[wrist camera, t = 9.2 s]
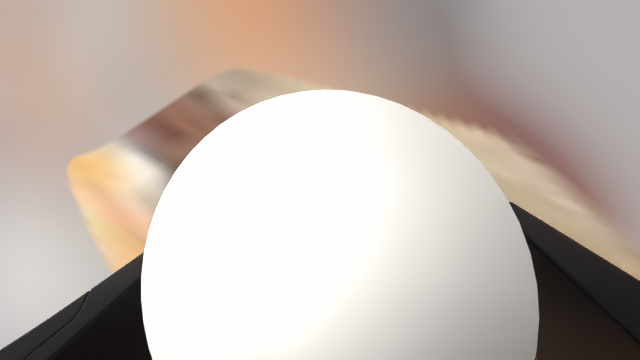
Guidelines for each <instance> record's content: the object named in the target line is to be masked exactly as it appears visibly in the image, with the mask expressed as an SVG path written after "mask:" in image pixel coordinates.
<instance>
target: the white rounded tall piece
mask: <svg viewBox="0 0 640 360" xmlns="http://www.w3.org/2000/svg"><path fill="white" fill-rule="evenodd" d="M141 302H142V312H143V322H144V327H145V332H146V337H147V342H148V347H149V350H150V353H151V356H152V360H535V356H536V351H537V340H538V328H539V306H538V291H537V282H536V277H535V273H534V268H533V263H532V258H531V254H530V251H529V248H528V245H527V242H526V240H525V237H524V234H523V231H522V228H521V226H520V223H519V221H518V219H517V217H516V215H515V213H514V211H513V209H512V207H511V206H510V204H509V202H508V200H507V198H506V196H505V194H504V193H503V191H502V190H501V189H500V187H499V186H498V184H497V183H496V181H495V180H494V179H493V177H492V176H491V174H490V173H489V171H488V170H487V169H486V168H485V167H484V166H483V165H482V163H481V162H480V161H479V160H478V159H477V158H476V157H475V156H474V155H473V154H472V153H471V151H470V150H469V149H468V148H467V147H465V146H464V145H463V144H462V143H461V142H460V141H458V140H457V139H456V138H455V137H454V136H452V135H451V134H450V133H449V132H448V131H446V130H445V129H444V128H442V127H441V126H439V125H437V124H436V123H434V122H433V121H431V120H430V119H428V118H426V117H425V116H423V115H422V114H419V113H417V112H415V111H413V110H411V109H409V108H407V107H405V106H403V105H400V104H398V103H395V102H392V101H389V100H386V99H383V98H380V97H377V96H373V95H368V94H363V93H357V92H352V91H340V90H315V91H302V92H297V93H292V94H287V95H282V96H278V97H275V98H272V99H269V100H266V101H263V102H260V103H258V104H256V105H254V106H252V107H249V108H247V109H245V110H243V111H241V112H239V113H238V114H236V115H234V116H233V117H231V118H230V119H228V120H227V121H225V122H223V123H222V124H220V125H219V126H218V127H217V128H216V129H214V130H213V131H212V132H211V133H210V134H208V135H207V136H206V137H205V138H204V139H203V140H202V141H201V142H200V143H199V144H198V145H197V146H196V147H195V148H194V149H193V150H192V151H191V152H190V153H189V154H188V156H187V157H186V158H185V160H184V161H183V162H182V164H181V165H180V166H179V168H178V169H177V170H176V172H175V173H174V175H173V177H172V178H171V180H170V182H169V183H168V185H167V187H166V188H165V190H164V193H163V195H162V197H161V199H160V201H159V203H158V206H157V208H156V210H155V213H154V216H153V219H152V222H151V225H150V228H149V232H148V236H147V241H146V245H145V250H144V257H143V266H142V275H141Z"/></svg>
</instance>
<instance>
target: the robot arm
mask: <svg viewBox="0 0 640 360" xmlns="http://www.w3.org/2000/svg"><path fill="white" fill-rule="evenodd" d="M509 204H510V206H511V207H512V209H513V211H514V213H515V215H516V217H517V219H518V221H519V223H520V226H521V228H522V231H523V234H524V237H525V240H526V242H527V245H528V248H529V251H530V254H531V258H532V263H533V268H534V273H535V277H536V282H537V291H538V306H539V328H538V340H537V351H536V355H537V357H538V360H640V281H639V280H637V279H636V278H634V277H633V276H631V275H629V274H628V273H626V272H624V271H623V270H621V269H620V268H618V267H616V266H615V265H613V264H611V263H610V262H608V261H607V260H605V259H603V258H602V257H600V256H598V255H597V254H595V253H594V252H592V251H590V250H589V249H587V248H585V247H584V246H582V245H581V244H579V243H577V242H576V241H574V240H572V239H571V238H569V237H568V236H566V235H564V234H563V233H561V232H559V231H558V230H556V229H555V228H553V227H551V226H550V225H548V224H546V223H545V222H543V221H542V220H540V219H538V218H537V217H535V216H533V215H532V214H530V213H529V212H527V211H525V210H524V209H522V208H520V207H519V206H517V205H516V204H514V203H512V202H509ZM143 257H144V252H143V253H142V254H141V255H139V256H138V257H136V258H135V259H134V260H132V261H131V262H129V263H128V264H126V265H125V266H124V267H122V268H121V269H119V270H118V271H116V272H115V273H114V274H112V275H111V276H109V277H108V278H106V279H105V280H104V281H102V282H101V283H99V284H98V285H97V286H95V287H94V288H92V289H91V291H88V292H87V293H85V294H84V295H82V296H81V297H80V298H78V299H77V300H75V301H74V302H72V303H71V304H69V305H68V306H66V307H65V308H64V309H62V310H61V311H59V312H58V313H56V314H55V315H53V316H52V317H50V318H49V319H47V320H46V321H44V322H43V323H41V324H40V325H38V326H37V327H35V328H34V329H32V330H30V331H29V332H27V333H26V334H25V335H23V336H21V337H20V338H18V339H17V340H15V341H14V342H12V343H10V344H9V345H7V346H6V347H4V348H3V349H1V350H0V360H152V356H151V353H150V350H149V347H148V342H147V337H146V332H145V327H144V322H143V312H142V302H141V275H142V266H143Z"/></svg>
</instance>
